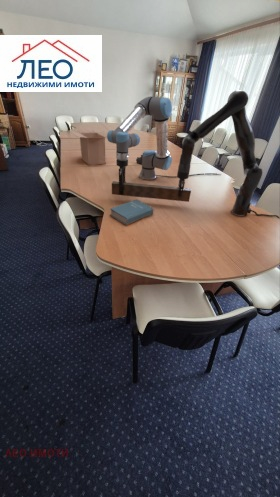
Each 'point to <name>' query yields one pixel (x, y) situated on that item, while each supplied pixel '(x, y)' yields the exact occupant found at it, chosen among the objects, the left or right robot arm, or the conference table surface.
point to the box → (92, 146)
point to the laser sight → (139, 159)
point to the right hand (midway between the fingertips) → (179, 195)
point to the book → (131, 211)
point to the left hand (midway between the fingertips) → (122, 193)
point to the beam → (152, 191)
